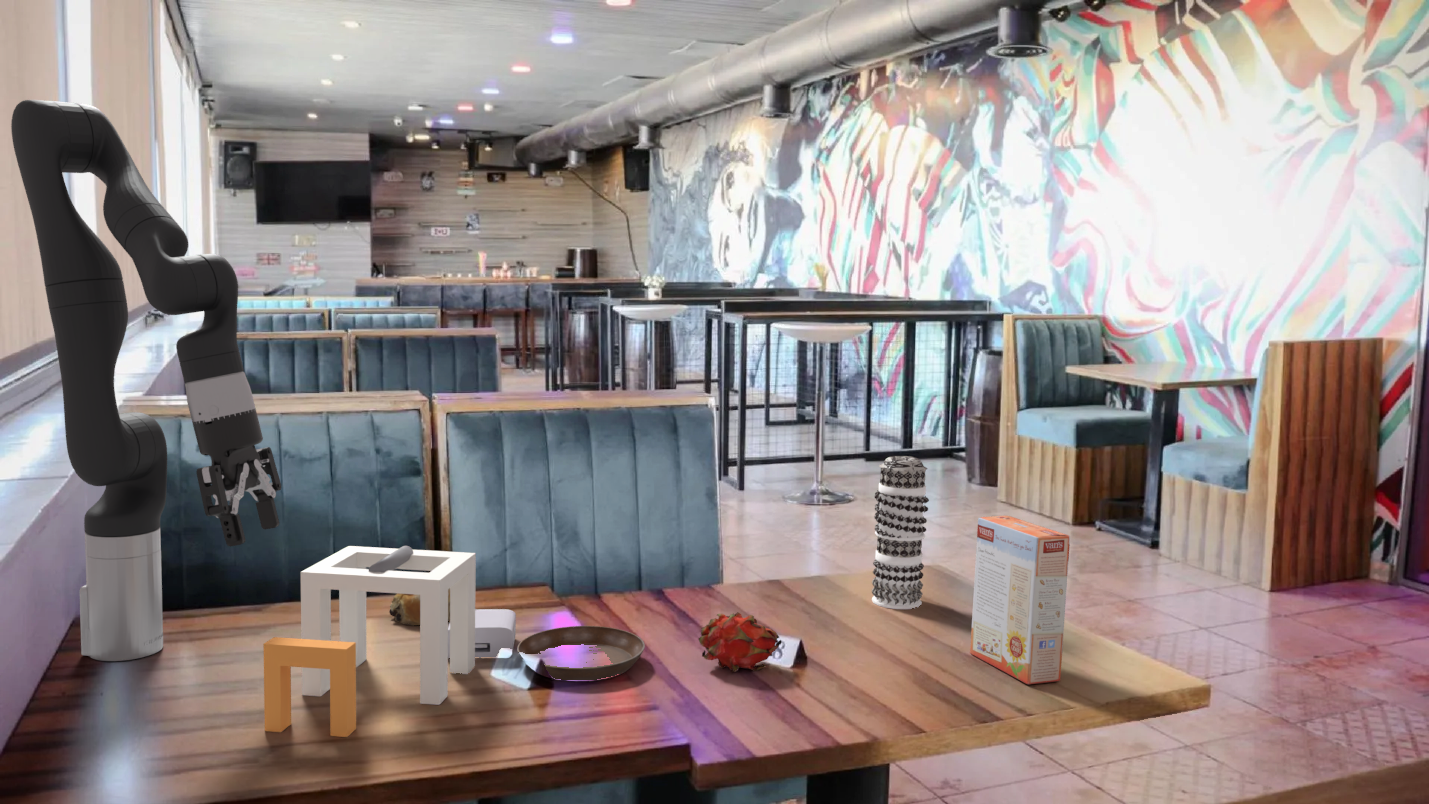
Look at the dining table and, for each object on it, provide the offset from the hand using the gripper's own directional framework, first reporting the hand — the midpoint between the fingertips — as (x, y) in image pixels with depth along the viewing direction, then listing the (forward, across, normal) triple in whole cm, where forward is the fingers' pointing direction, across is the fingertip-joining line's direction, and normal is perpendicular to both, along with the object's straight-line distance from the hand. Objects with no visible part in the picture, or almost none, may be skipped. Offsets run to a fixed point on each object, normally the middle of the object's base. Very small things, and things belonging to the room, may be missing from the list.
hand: (254, 536), depth 142 cm
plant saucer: (+29, -15, +34) cm, 47 cm away
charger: (+25, -22, +18) cm, 38 cm away
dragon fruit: (+34, -18, +55) cm, 67 cm away
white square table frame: (+23, -4, +11) cm, 26 cm away
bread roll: (+23, -31, +6) cm, 39 cm away
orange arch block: (+22, +13, +9) cm, 27 cm away
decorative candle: (+40, -56, +78) cm, 104 cm away
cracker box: (+42, -26, +93) cm, 105 cm away
